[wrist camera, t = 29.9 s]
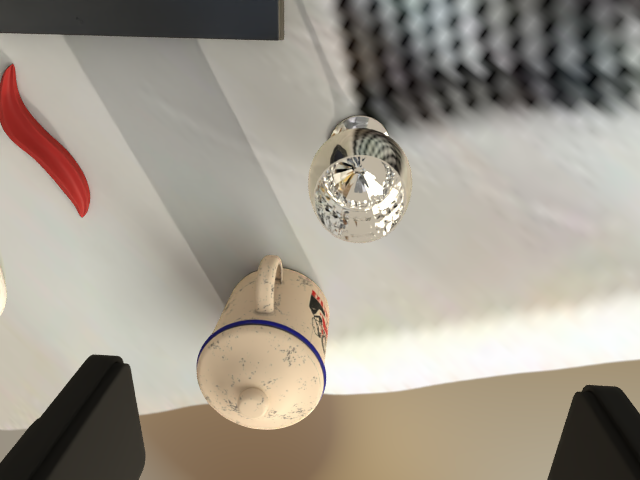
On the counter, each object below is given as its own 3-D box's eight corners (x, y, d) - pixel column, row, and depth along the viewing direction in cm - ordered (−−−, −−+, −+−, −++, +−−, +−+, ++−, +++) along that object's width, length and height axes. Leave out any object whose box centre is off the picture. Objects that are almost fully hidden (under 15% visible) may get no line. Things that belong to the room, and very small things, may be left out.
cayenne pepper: (-16, 68, 34) (-36, 70, 33) (42, 58, 34) (25, 60, 32) (47, 221, 39) (32, 230, 37) (99, 215, 38) (86, 224, 37)
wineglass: (304, 154, 35) (280, 211, 24) (351, 88, 33) (347, 118, 22) (367, 198, 36) (370, 272, 25) (416, 137, 34) (443, 189, 23)
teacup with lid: (329, 357, 42) (319, 467, 32) (229, 349, 43) (186, 454, 32) (337, 234, 38) (328, 315, 27) (224, 226, 38) (171, 302, 27)
